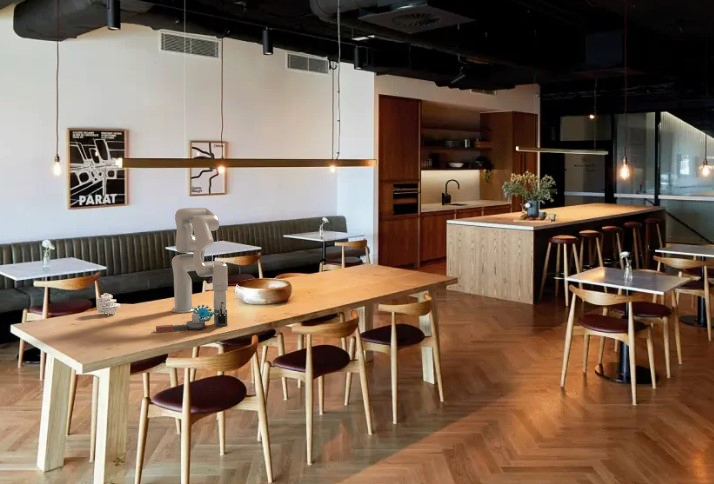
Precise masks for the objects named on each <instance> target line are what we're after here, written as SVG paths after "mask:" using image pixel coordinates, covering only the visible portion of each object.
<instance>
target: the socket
mask: <svg viewBox="0 0 714 484" xmlns="http://www.w3.org/2000/svg"><path fill="white" fill-rule="evenodd" d="M220 310H222V309H220ZM213 312H214V315H213V324H214V326H215V327H216V328H217V327H228V309H226V310H225V323H224V324H219V310H218V311H216V310H215V309H214V308H213ZM220 312H222V311H220Z"/></svg>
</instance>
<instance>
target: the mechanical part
mask: <svg viewBox="0 0 714 484" xmlns="http://www.w3.org/2000/svg"><path fill="white" fill-rule="evenodd" d="M120 308H121V303H117V299H113V295H112V294H110V293H107V292H105V293H103V294H101V295H100V297H97V298H96V310H97V313H99V314H102V313H103V316H105V315H106V314H107V316H108V317H109V316H110V314H112V313H113V316H116V312H117V311H118V309H120Z"/></svg>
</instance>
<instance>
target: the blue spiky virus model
mask: <svg viewBox="0 0 714 484" xmlns="http://www.w3.org/2000/svg"><path fill="white" fill-rule="evenodd" d="M194 310H195V311H192V313H193V314H199V321H204V322H205V321H209V319H212V318H213V317H214V311H212V308H210V307H209V306H208V305H206V306H205V305H204V304H201V305H197V307H194Z"/></svg>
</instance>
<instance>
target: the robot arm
mask: <svg viewBox="0 0 714 484" xmlns="http://www.w3.org/2000/svg"><path fill="white" fill-rule="evenodd" d="M174 216H175V217H174V220H175V224H176V236H175V250H176V252H177V253H180V254H179V255H178V254H177V255H175V256H174V257H173V258H172V259H171V266H172V272H173V291H174V292H173V293H174V299H173V300H174V307H172V308H171V312H172V313H176V314H177V313H178V314H181V313H182V314H185V313H193V312H194V311H196V310H194V308H195V306H193V282H192V277H191V276H190V274H189V273H188V272H194V271H195V272H196V274H197V276H198V277H201V278H204V277H205V278H207V277H211V278H212V291H213V310H214V309H215V310H216V311H218V310H219V324H224V323H225V310H227V291H229V290H228V287H229V286H228V285H229V284H228V281H229V280H228V277H229V276H228V264H227V263H223V262H222V261H219V260H214V261H213V260H212V261H211V260H210V261H205V250H206V249H207V248H209V247H211V246H212V245H214V242H215V241H214V237H213V234H212V231H217V230H219V228H220V220H219V217H217V215H216V214H215V213H213V211H211V210H210V209H209V208H207V207H185V208H179V209H177V210H176V212H175V214H174ZM220 309H222V310H220ZM220 311H222V312H220Z"/></svg>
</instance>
